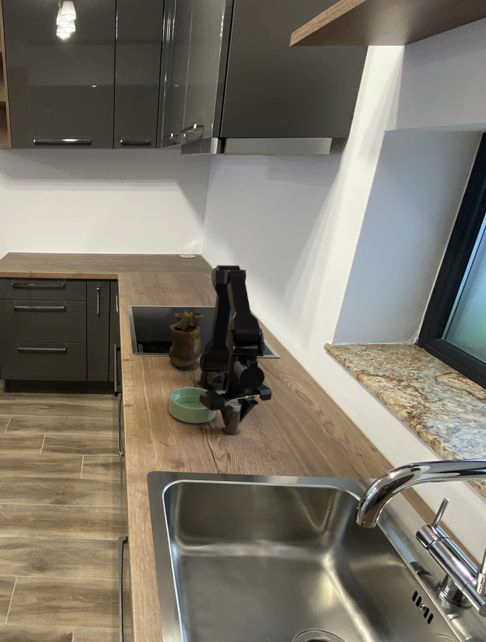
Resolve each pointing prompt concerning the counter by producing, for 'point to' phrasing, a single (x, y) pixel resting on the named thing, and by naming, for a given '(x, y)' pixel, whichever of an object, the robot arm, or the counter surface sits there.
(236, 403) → the shaker
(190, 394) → the bowl
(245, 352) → the robot arm
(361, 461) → the counter surface
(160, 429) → the counter surface
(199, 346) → the pottery vessel
